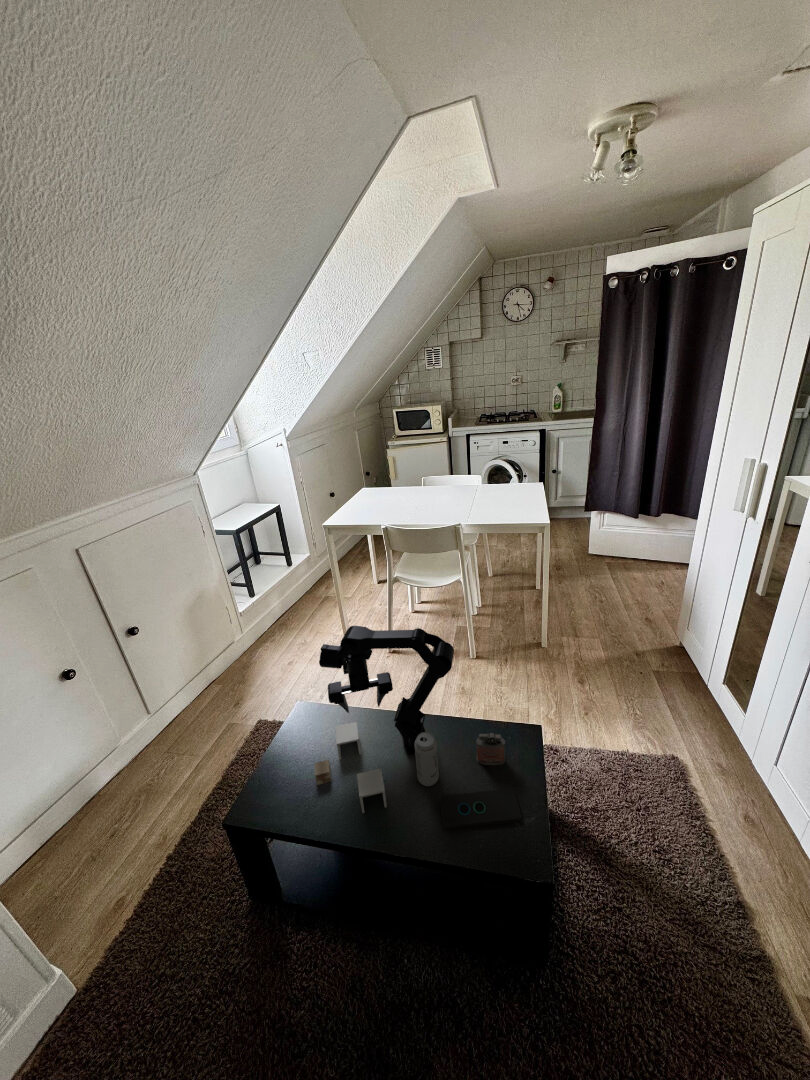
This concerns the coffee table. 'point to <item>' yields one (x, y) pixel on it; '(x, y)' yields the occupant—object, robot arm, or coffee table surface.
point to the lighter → (490, 749)
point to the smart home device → (479, 808)
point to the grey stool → (370, 785)
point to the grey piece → (347, 736)
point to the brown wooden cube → (322, 772)
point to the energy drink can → (426, 759)
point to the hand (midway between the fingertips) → (363, 708)
